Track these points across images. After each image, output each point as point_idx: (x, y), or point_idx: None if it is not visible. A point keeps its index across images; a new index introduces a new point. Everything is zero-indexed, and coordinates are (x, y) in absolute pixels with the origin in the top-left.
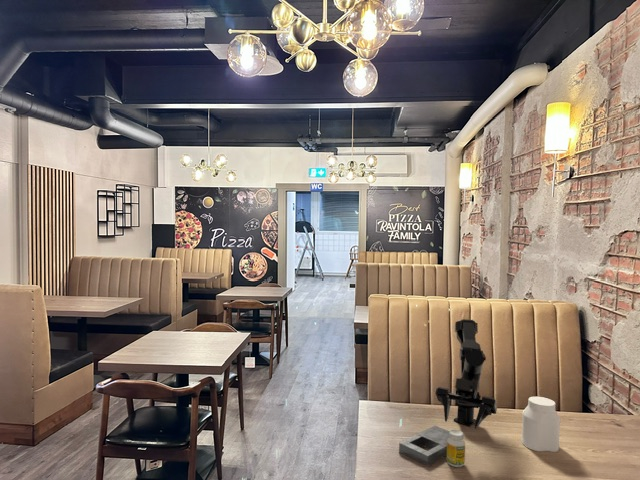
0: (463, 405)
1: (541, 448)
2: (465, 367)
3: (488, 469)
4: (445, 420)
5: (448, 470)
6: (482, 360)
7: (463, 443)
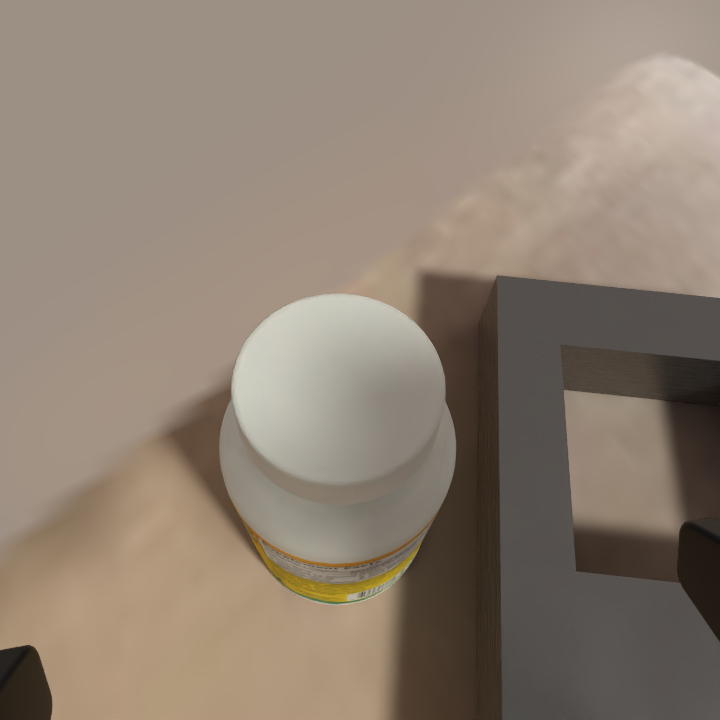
0: None
1: None
2: None
3: (26, 639)
4: (693, 526)
5: None
6: None
7: (224, 417)
